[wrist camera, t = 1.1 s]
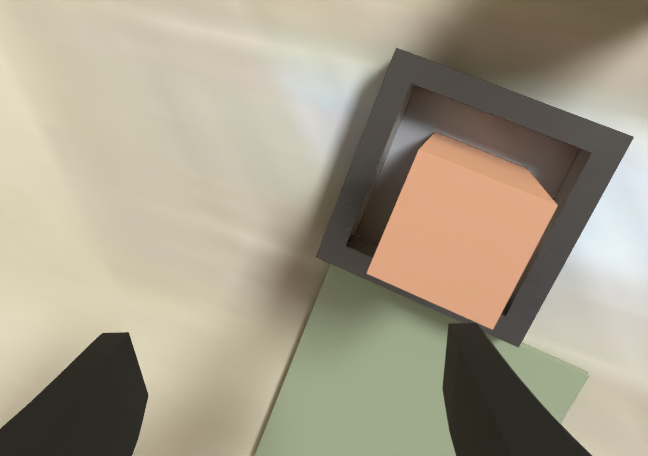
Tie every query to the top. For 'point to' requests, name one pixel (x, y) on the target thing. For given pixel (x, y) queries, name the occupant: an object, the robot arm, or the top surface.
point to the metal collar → (594, 139)
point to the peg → (462, 229)
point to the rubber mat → (385, 377)
